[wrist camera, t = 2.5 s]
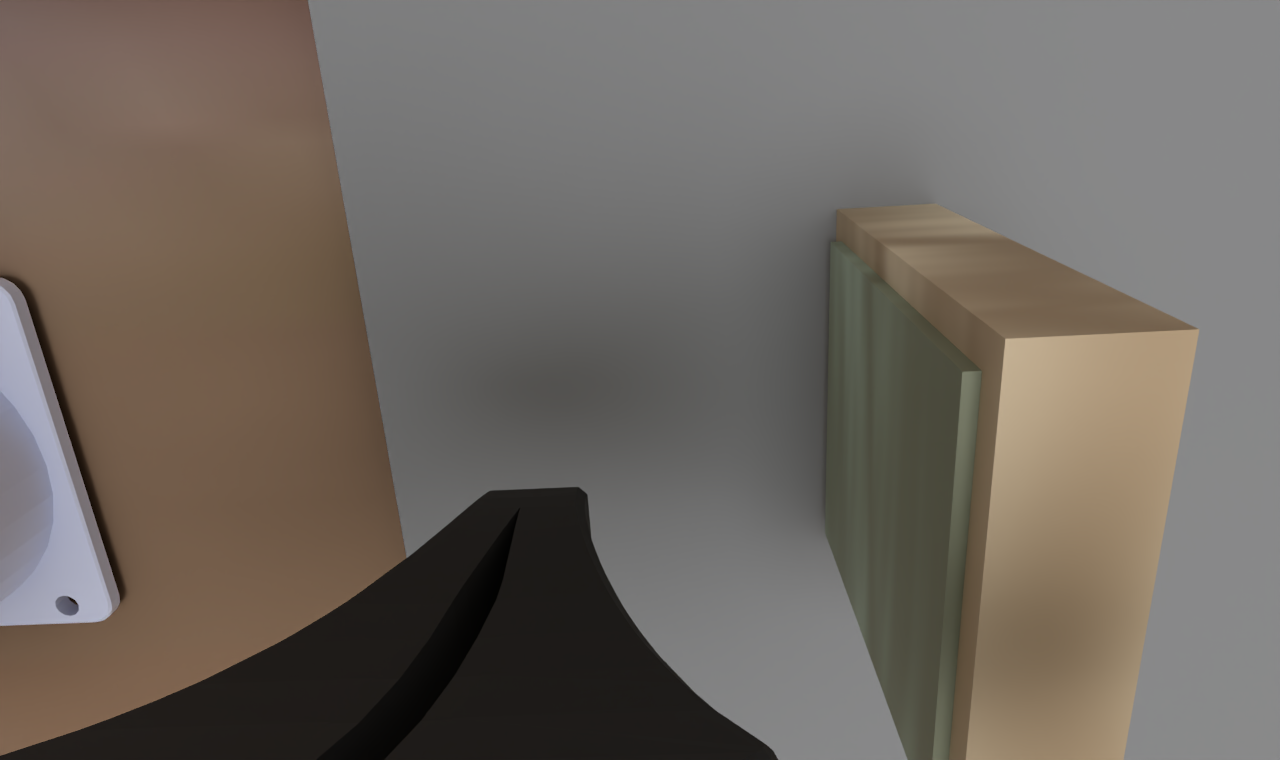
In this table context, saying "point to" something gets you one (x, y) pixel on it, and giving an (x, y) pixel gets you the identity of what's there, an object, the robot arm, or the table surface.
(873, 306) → the plaque
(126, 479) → the table surface
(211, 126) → the table surface
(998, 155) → the mat
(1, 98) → the table surface
